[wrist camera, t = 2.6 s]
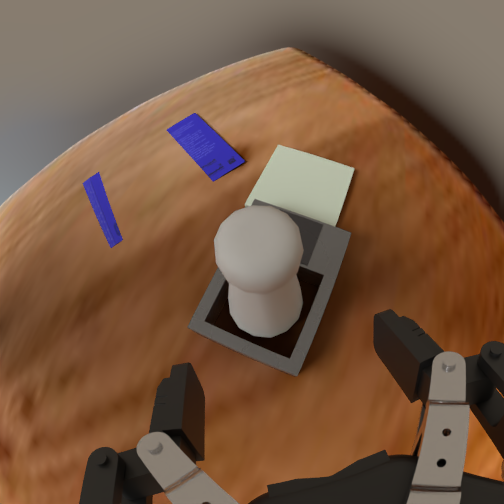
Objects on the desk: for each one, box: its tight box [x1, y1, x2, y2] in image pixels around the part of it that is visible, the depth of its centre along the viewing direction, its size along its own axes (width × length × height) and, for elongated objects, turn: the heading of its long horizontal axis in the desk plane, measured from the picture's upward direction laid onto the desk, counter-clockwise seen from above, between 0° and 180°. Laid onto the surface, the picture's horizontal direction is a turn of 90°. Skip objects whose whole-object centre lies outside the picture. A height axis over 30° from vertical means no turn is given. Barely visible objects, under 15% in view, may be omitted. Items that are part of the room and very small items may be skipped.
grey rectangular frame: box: [188, 199, 351, 377], centre depth 24 cm, size 9×12×3 cm
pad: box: [245, 145, 354, 226], centre depth 30 cm, size 9×9×1 cm
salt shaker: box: [214, 205, 304, 338], centre depth 19 cm, size 6×6×13 cm
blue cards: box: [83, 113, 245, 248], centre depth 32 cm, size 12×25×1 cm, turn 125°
